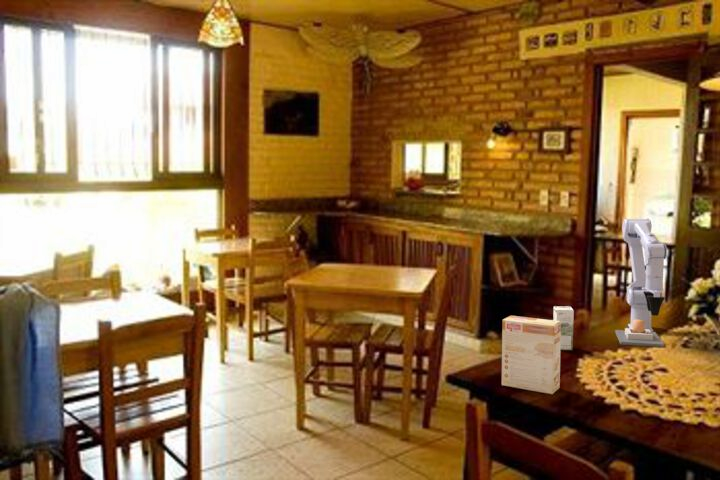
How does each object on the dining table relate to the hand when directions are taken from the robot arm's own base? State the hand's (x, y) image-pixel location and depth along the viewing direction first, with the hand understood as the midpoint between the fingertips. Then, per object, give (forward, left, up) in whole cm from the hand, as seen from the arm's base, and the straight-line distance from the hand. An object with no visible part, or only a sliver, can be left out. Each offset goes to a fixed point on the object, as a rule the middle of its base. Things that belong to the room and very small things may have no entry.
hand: (652, 313), depth 234 cm
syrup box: (+22, -32, -10) cm, 40 cm away
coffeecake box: (+66, -42, -10) cm, 79 cm away
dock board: (+3, -5, -9) cm, 11 cm away
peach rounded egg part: (+3, -5, -8) cm, 10 cm away
